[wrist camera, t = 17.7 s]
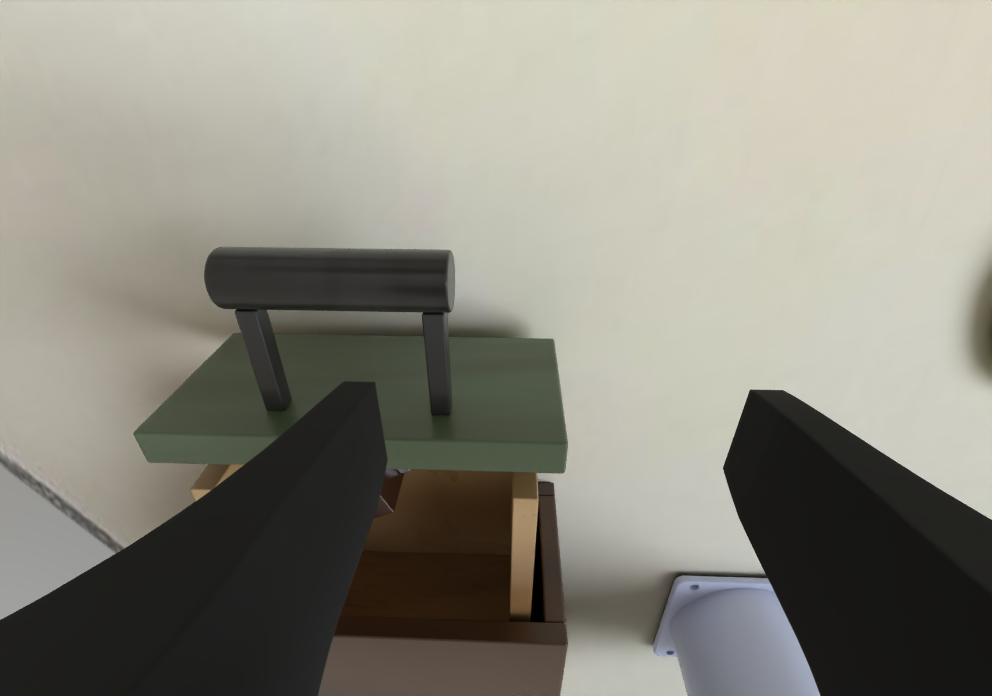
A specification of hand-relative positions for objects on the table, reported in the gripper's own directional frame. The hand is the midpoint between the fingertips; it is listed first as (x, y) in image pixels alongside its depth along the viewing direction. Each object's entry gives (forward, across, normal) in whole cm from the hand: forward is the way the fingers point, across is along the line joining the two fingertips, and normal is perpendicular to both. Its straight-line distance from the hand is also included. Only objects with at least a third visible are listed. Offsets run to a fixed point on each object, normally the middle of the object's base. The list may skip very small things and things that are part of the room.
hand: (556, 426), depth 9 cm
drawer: (+8, +6, +7) cm, 12 cm away
